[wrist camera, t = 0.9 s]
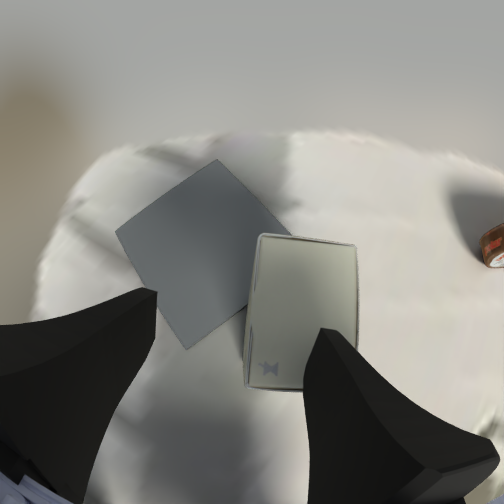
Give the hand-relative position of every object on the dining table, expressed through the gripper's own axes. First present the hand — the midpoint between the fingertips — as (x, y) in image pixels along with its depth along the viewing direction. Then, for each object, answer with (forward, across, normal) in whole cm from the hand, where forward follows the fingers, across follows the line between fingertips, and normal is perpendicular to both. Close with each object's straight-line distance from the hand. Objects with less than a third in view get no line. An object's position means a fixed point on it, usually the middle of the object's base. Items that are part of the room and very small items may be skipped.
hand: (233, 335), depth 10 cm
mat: (+16, +4, +2) cm, 17 cm away
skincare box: (+11, -3, +7) cm, 13 cm away
